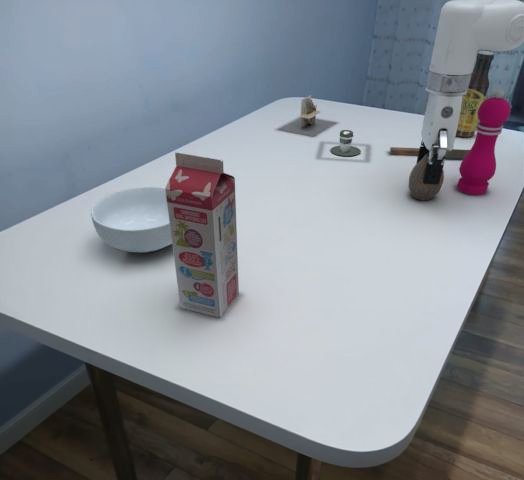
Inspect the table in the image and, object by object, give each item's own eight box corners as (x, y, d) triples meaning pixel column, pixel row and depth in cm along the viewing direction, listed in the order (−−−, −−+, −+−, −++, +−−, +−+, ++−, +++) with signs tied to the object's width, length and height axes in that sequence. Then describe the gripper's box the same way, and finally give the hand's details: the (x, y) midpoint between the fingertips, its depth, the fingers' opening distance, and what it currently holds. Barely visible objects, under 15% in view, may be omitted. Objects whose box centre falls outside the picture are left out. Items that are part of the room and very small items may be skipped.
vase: (410, 187, 109) (418, 146, 103) (441, 193, 107) (452, 152, 101) (402, 199, 104) (410, 157, 98) (435, 205, 102) (445, 163, 96)
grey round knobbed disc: (368, 145, 130) (371, 125, 127) (367, 161, 121) (370, 140, 118) (322, 142, 131) (324, 122, 128) (318, 158, 123) (320, 137, 119)
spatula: (472, 152, 126) (473, 147, 125) (477, 160, 121) (478, 155, 121) (388, 149, 128) (389, 144, 127) (390, 157, 123) (391, 152, 122)
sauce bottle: (446, 134, 137) (466, 51, 124) (458, 129, 140) (478, 48, 127) (467, 140, 133) (490, 55, 120) (479, 135, 136) (502, 52, 123)
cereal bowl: (93, 229, 93) (84, 194, 89) (178, 215, 98) (174, 180, 94) (106, 274, 82) (97, 235, 77) (203, 255, 86) (200, 218, 82)
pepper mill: (491, 197, 105) (524, 94, 92) (456, 194, 106) (484, 92, 93) (486, 184, 111) (516, 85, 97) (452, 181, 111) (478, 83, 98)
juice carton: (201, 285, 79) (187, 144, 65) (238, 294, 77) (233, 151, 63) (180, 307, 75) (161, 161, 60) (220, 318, 73) (210, 169, 58)
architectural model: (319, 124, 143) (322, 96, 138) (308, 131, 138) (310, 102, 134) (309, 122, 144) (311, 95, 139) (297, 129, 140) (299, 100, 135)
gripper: (479, 95, 84) (453, 192, 96) (459, 72, 97) (438, 160, 109) (434, 93, 85) (413, 190, 96) (420, 71, 98) (403, 159, 109)
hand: (427, 174), depth 102 cm, fingers open, 9 cm apart
